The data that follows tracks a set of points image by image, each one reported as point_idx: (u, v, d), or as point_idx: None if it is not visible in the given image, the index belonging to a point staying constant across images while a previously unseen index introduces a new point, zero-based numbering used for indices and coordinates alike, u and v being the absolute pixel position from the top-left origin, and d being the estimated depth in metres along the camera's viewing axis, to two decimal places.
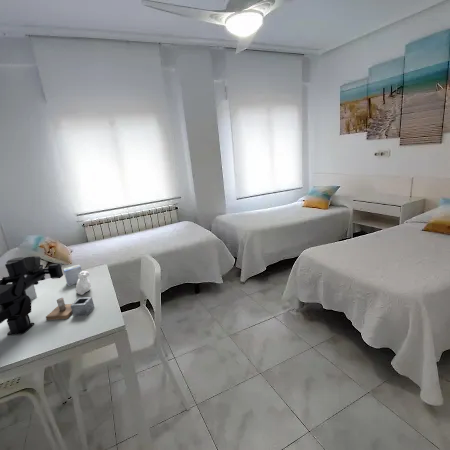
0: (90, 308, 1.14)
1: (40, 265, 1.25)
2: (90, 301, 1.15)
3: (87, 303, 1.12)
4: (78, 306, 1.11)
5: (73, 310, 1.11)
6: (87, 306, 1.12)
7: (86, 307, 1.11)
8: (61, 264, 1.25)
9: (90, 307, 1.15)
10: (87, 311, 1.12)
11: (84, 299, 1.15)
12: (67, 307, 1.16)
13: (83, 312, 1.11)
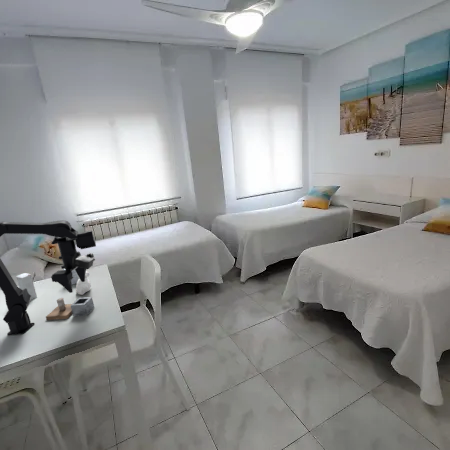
0: (90, 308, 1.14)
1: (83, 278, 1.15)
2: (90, 301, 1.15)
3: (87, 303, 1.12)
4: (78, 306, 1.11)
5: (73, 310, 1.11)
6: (87, 306, 1.12)
7: (86, 307, 1.11)
8: (70, 291, 1.07)
9: (90, 307, 1.15)
10: (87, 311, 1.12)
11: (84, 299, 1.15)
12: (67, 307, 1.16)
13: (83, 312, 1.11)
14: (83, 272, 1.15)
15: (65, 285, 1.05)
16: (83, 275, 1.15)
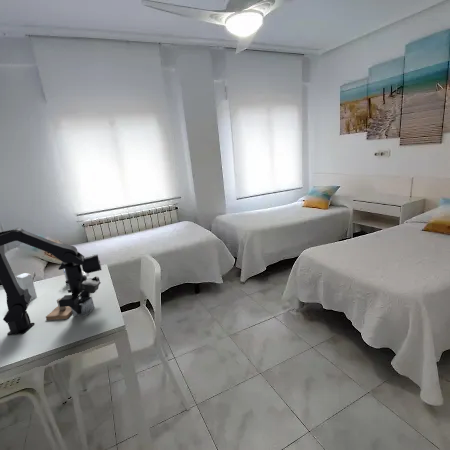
0: (90, 308, 1.14)
1: None
2: (90, 301, 1.15)
3: (87, 303, 1.12)
4: None
5: (73, 310, 1.11)
6: (87, 306, 1.12)
7: (86, 307, 1.11)
8: (78, 312, 1.11)
9: (90, 307, 1.15)
10: (87, 311, 1.12)
11: (84, 299, 1.15)
12: (67, 307, 1.16)
13: (83, 312, 1.11)
14: (87, 296, 1.17)
15: (74, 307, 1.09)
16: None
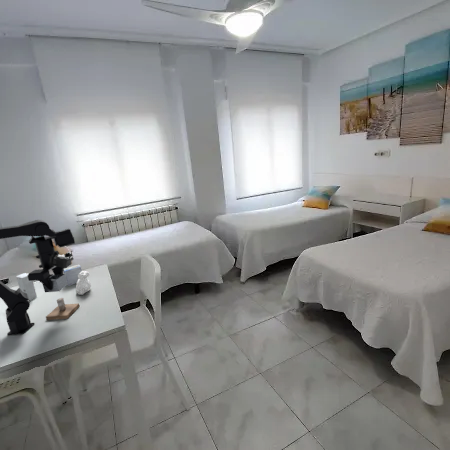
0: (63, 285, 1.12)
1: None
2: (63, 277, 1.12)
3: (59, 279, 1.10)
4: None
5: (44, 286, 1.08)
6: (59, 282, 1.10)
7: (58, 283, 1.09)
8: (50, 288, 1.08)
9: (63, 284, 1.12)
10: (59, 287, 1.09)
11: (57, 276, 1.13)
12: (67, 307, 1.16)
13: (55, 288, 1.09)
14: (60, 273, 1.14)
15: (45, 282, 1.07)
16: None
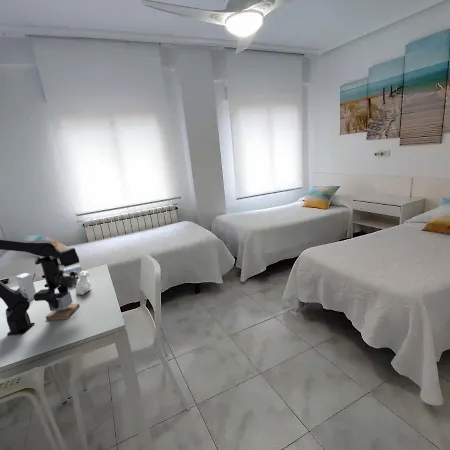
0: (68, 303, 1.14)
1: None
2: (68, 296, 1.14)
3: (64, 298, 1.12)
4: None
5: (49, 304, 1.11)
6: (64, 301, 1.12)
7: (63, 302, 1.11)
8: (55, 307, 1.10)
9: (68, 302, 1.14)
10: (64, 306, 1.12)
11: (62, 294, 1.15)
12: (67, 307, 1.16)
13: (60, 307, 1.11)
14: (65, 291, 1.16)
15: (50, 301, 1.09)
16: None
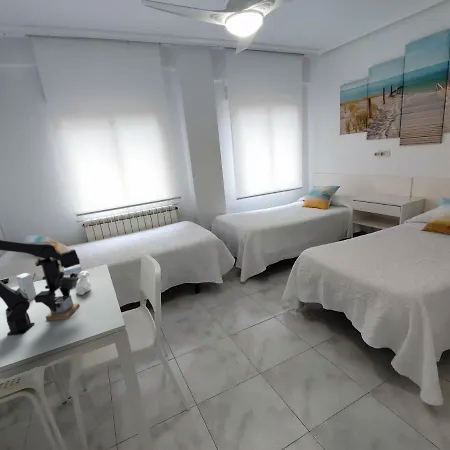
0: (69, 306, 1.14)
1: None
2: (69, 299, 1.15)
3: (65, 301, 1.12)
4: (56, 304, 1.11)
5: None
6: (65, 304, 1.12)
7: (64, 305, 1.11)
8: (54, 310, 1.09)
9: (69, 305, 1.15)
10: (65, 309, 1.12)
11: (63, 297, 1.15)
12: None
13: (61, 310, 1.11)
14: (67, 291, 1.17)
15: (49, 305, 1.08)
16: (67, 294, 1.18)
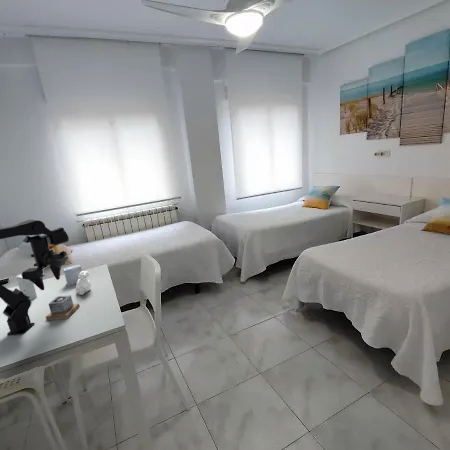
0: (69, 306, 1.14)
1: (58, 276, 1.17)
2: (69, 299, 1.15)
3: (65, 301, 1.12)
4: (56, 304, 1.11)
5: (51, 308, 1.11)
6: (65, 304, 1.12)
7: (64, 305, 1.11)
8: (41, 288, 1.08)
9: (69, 305, 1.15)
10: (65, 309, 1.12)
11: (63, 297, 1.15)
12: None
13: (61, 310, 1.11)
14: (57, 270, 1.17)
15: (37, 282, 1.07)
16: (58, 273, 1.17)
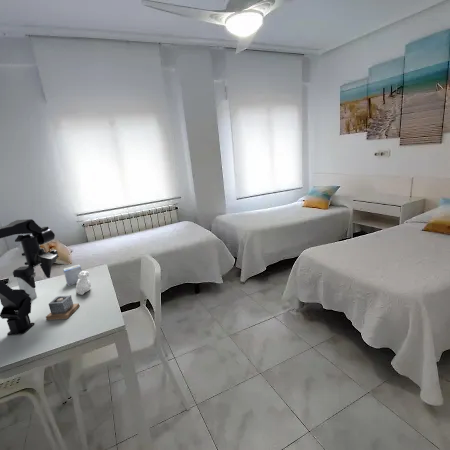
0: (69, 306, 1.14)
1: (48, 274, 1.20)
2: (69, 299, 1.15)
3: (65, 301, 1.12)
4: (56, 304, 1.11)
5: (51, 308, 1.11)
6: (65, 304, 1.12)
7: (64, 305, 1.11)
8: (33, 286, 1.11)
9: (69, 305, 1.15)
10: (65, 309, 1.12)
11: (63, 297, 1.15)
12: None
13: (61, 310, 1.11)
14: (48, 268, 1.19)
15: (28, 280, 1.09)
16: (48, 271, 1.20)
